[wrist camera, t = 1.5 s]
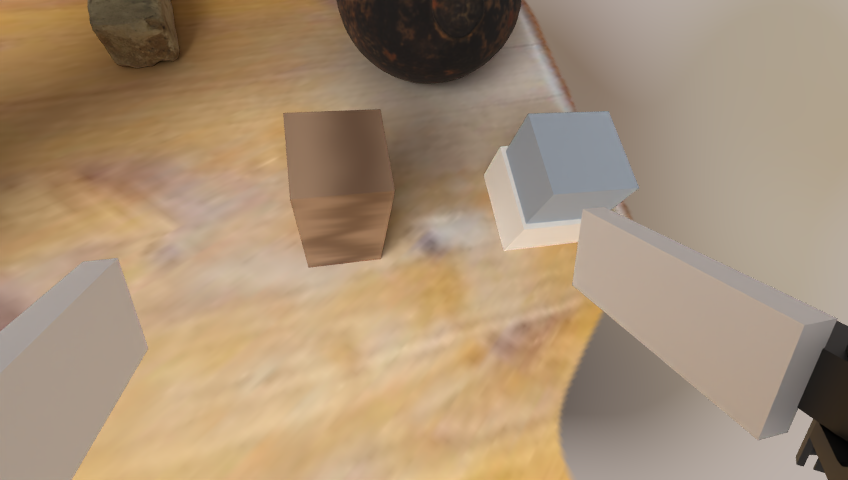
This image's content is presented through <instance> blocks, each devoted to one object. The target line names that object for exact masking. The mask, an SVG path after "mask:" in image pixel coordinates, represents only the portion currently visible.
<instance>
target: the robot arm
mask: <svg viewBox="0 0 848 480" xmlns="http://www.w3.org/2000/svg"><path fill="white" fill-rule="evenodd" d="M572 285H573V286H574V287H575V288H576V289H578V290H579V291H580V292H581V293H582V294H584V295H585V296H586V297H587V298H588V299H590V300H591V301H592V302H593V303H594V304H596V305H597V306H598V307H599V308H600V309H602V310H603V311H604V312H605V313H606V314H608V315H609V316H610V317H611V318H612V319H614V320H615V321H616V322H617V323H618V324H620V325H621V326H622V327H623V328H624V329H626V330H627V331H628V332H629V333H630V334H632V335H633V336H634V337H635V338H636V339H637V340H639V341H640V342H641V343H642V344H644V345H645V346H646V347H647V348H648V349H650V350H651V351H652V352H653V353H654V354H655V355H657V356H658V357H659V358H660V359H661V360H663V361H664V362H665V363H666V364H668V365H669V366H670V367H671V368H672V369H673V370H675V371H676V372H677V373H678V374H679V375H681V376H682V377H683V378H684V379H685V380H687V381H688V382H689V383H690V384H691V385H692V386H694V387H695V388H696V389H698V390H699V391H700V392H701V393H702V394H703V395H704V396H706V397H707V398H708V399H709V400H710V401H712V402H713V403H714V404H715V405H716V406H718V407H719V408H720V409H721V410H722V411H724V412H725V413H726V414H727V415H728V416H730V417H731V418H732V419H733V420H734V421H736V422H737V423H738V424H739V425H740V426H741V427H743V428H744V429H745V430H746V431H748V432H749V433H750V434H751V435H752V436H754V437H755V438H756V439H757V440H761V439H765V438H768V437H772V436H775V435H779V434H783V433H787V432H788V430H789V428H790V425H791V423H792V421H793V419H794V417H795V414H796V412H797V410H798V408H799V409H800V410H802V411H803V412H805V413H806V414H807V415H809V416H810V417H812V418H813V421H812V423H811V425H810V427H809V429H808V432H807V434H806V436H805V438H804V440H803V442H802V445H801V447H800V449H799V451H798V453H797V455H796V463H797V465H800V466H804V464H805V462H806V460H807V458H808V456H809V455H817V456H818V460H817V462H816V464H815V466H814V470H817V471H820V472H824V473H825V474H826V476H827V479H828V480H848V326H846V325H844V324H842V323H840V322H838V321H837V318H835V317H833V316H831V315H829V314H827V313H825V312H823V311H821V310H818V309H817V308H815V307H812V306H810V305H808V304H806V303H804V302H802V301H800V300H798V299H796V298H794V297H792V296H789V295H787V294H785V293H783V292H781V291H779V290H777V289H775V288H773V287H771V286H768V285H766V284H764V283H762V282H760V281H758V280H756V279H754V278H752V277H749V276H748V275H745V274H743V273H741V272H739V271H737V270H735V269H733V268H731V267H729V266H727V265H724V264H722V263H720V262H718V261H716V260H714V259H712V258H710V257H708V256H705V255H703V254H702V253H699V252H697V251H695V250H693V249H691V248H689V247H687V246H685V245H683V244H681V243H679V242H676V241H674V240H672V239H670V238H668V237H666V236H664V235H662V234H660V233H658V232H655V231H653V230H651V229H649V228H647V227H645V226H643V225H641V224H639V223H637V222H635V221H632V220H630V219H628V218H626V217H624V216H622V215H620V214H618V213H616V212H614V211H612V210H609V209H607V208H605V207H597V208H588V209H583V211H582V218H581V225H580V233H579V240H578V247H577V254H576V261H575V269H574V276H573V283H572ZM147 350H148V346H147V343H146V340H145V337H144V334H143V331H142V328H141V325H140V322H139V319H138V316H137V313H136V310H135V307H134V304H133V302H132V299H131V296H130V293H129V290H128V287H127V284H126V281H125V278H124V275H123V272H122V269H121V266H120V263H119V260H118V258H114V259H104V260H95V261H85V262H82V263H81V264H79V265H78V266H77V267H76V268H75V269H74V270H72V271H71V272H70V273H69V274H68V275H66V276H65V277H64V278H63V279H62V280H61V281H59V282H58V283H57V284H56V285H55V286H53V287H52V288H51V289H50V290H49V291H48V292H46V293H45V294H44V295H43V296H42V297H40V298H39V299H38V300H37V301H36V302H35V303H33V304H32V305H31V306H30V307H29V308H27V309H26V310H25V311H24V312H23V313H22V314H20V315H19V316H18V317H17V318H16V319H14V320H13V321H12V322H11V323H10V324H9V325H7V326H6V327H5V328H4V329H3V330H1V331H0V480H72V478H73V476H74V475H75V473H76V471H77V470H78V468H79V466H80V464H81V463H82V461H83V459H84V458H85V456H86V454H87V452H88V451H89V449H90V447H91V446H92V444H93V442H94V440H95V439H96V437H97V435H98V434H99V432H100V430H101V428H102V427H103V425H104V423H105V422H106V420H107V418H108V416H109V415H110V413H111V411H112V410H113V408H114V406H115V404H116V403H117V401H118V399H119V398H120V396H121V394H122V392H123V391H124V389H125V387H126V386H127V384H128V382H129V380H130V379H131V377H132V375H133V374H134V372H135V370H136V368H137V367H138V365H139V363H140V362H141V360H142V358H143V356H144V355H145V353H146V351H147Z"/></svg>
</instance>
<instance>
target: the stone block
mask: <svg viewBox="0 0 848 480" xmlns="http://www.w3.org/2000/svg"><path fill="white" fill-rule="evenodd" d="M88 11H89V15H90V24H91V26H92V28H93V31H94V32H95V34H96V35H97V37H98V38H99V40H100V41H101V42H102V43H103V44H104V46H105V48H106V49H107V51H108V52H109V54H110V55H111V57H112V59H113V60H114V62H115V63H116V64H117V65H120V66H126V65H127V66H132V67H135V68H141V67H147V66H154V65H155V64H156V63H157V62H158V61H161V60H164V61H165V60H172V61H175V60H176V59H177V58H178V56H179V45H178V38H177V34H176V30H175V25H174V15H173V7H172V4H171V1H170V0H88Z"/></svg>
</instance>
